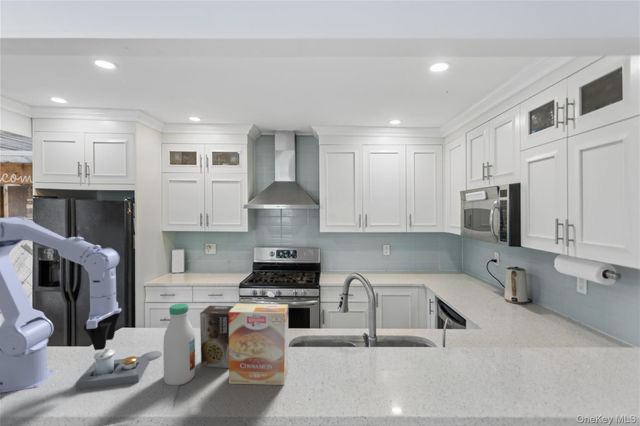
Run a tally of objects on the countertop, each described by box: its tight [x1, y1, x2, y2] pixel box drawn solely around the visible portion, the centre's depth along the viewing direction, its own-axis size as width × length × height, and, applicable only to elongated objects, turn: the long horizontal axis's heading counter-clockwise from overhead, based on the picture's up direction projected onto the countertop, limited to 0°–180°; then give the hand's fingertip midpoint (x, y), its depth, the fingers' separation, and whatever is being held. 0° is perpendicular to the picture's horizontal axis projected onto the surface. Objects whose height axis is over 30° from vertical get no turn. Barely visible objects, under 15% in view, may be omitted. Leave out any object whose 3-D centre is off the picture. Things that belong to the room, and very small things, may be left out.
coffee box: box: [199, 305, 235, 369], centre depth 90 cm, size 9×6×16 cm
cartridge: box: [93, 348, 116, 376], centre depth 82 cm, size 5×5×7 cm
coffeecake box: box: [228, 303, 289, 386], centre depth 83 cm, size 15×7×20 cm, turn 88°
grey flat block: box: [75, 356, 150, 392], centre depth 83 cm, size 14×10×2 cm
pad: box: [140, 350, 163, 362], centre depth 93 cm, size 6×6×1 cm
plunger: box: [122, 355, 137, 370], centre depth 84 cm, size 3×3×4 cm
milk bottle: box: [163, 303, 196, 386], centre depth 82 cm, size 8×8×20 cm
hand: (104, 344), depth 82 cm, fingers open, 5 cm apart
